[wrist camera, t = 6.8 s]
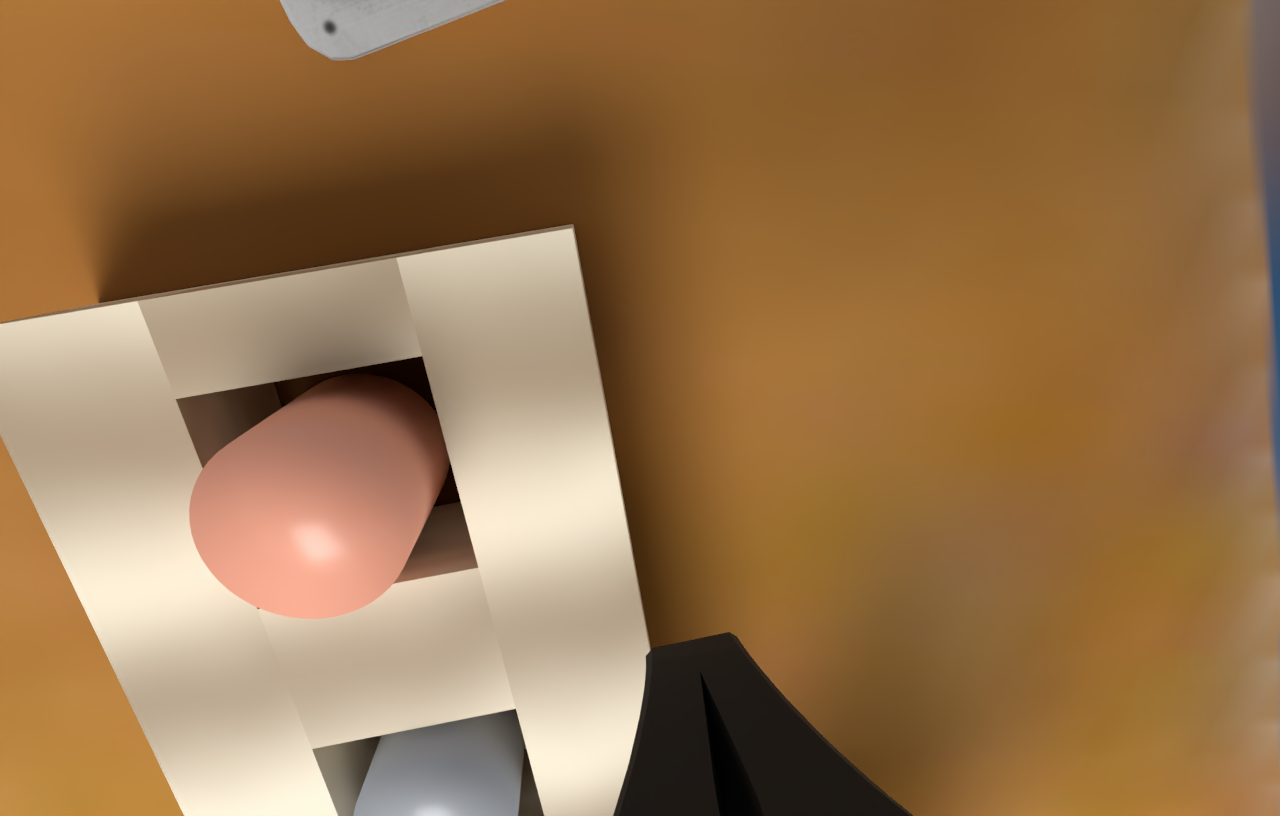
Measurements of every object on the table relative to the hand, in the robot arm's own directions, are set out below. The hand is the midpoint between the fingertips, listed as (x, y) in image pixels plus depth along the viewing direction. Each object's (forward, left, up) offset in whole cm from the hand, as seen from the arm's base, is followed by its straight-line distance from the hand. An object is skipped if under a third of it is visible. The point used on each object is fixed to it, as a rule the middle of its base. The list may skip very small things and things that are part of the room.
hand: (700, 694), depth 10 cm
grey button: (-7, +7, -9) cm, 13 cm away
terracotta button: (+2, +7, -8) cm, 10 cm away
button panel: (-2, +7, -9) cm, 12 cm away
